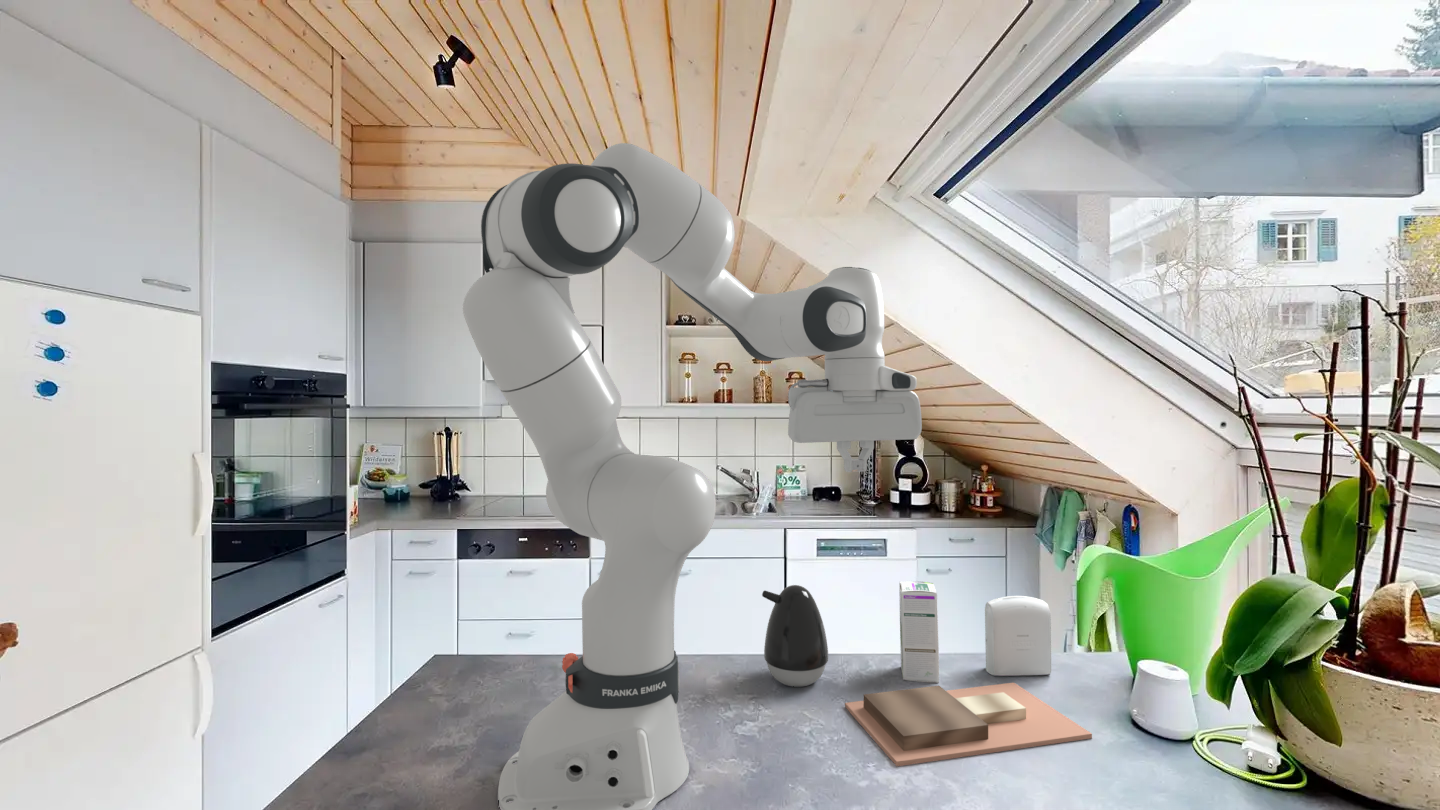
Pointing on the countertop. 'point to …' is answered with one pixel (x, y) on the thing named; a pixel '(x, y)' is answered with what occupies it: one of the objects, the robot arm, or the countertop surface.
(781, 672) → the pump dispenser
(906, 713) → the walnut block
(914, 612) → the syrup box
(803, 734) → the countertop surface
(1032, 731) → the rubber mat
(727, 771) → the countertop surface
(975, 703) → the birch tile
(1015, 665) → the photo printer
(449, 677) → the countertop surface
